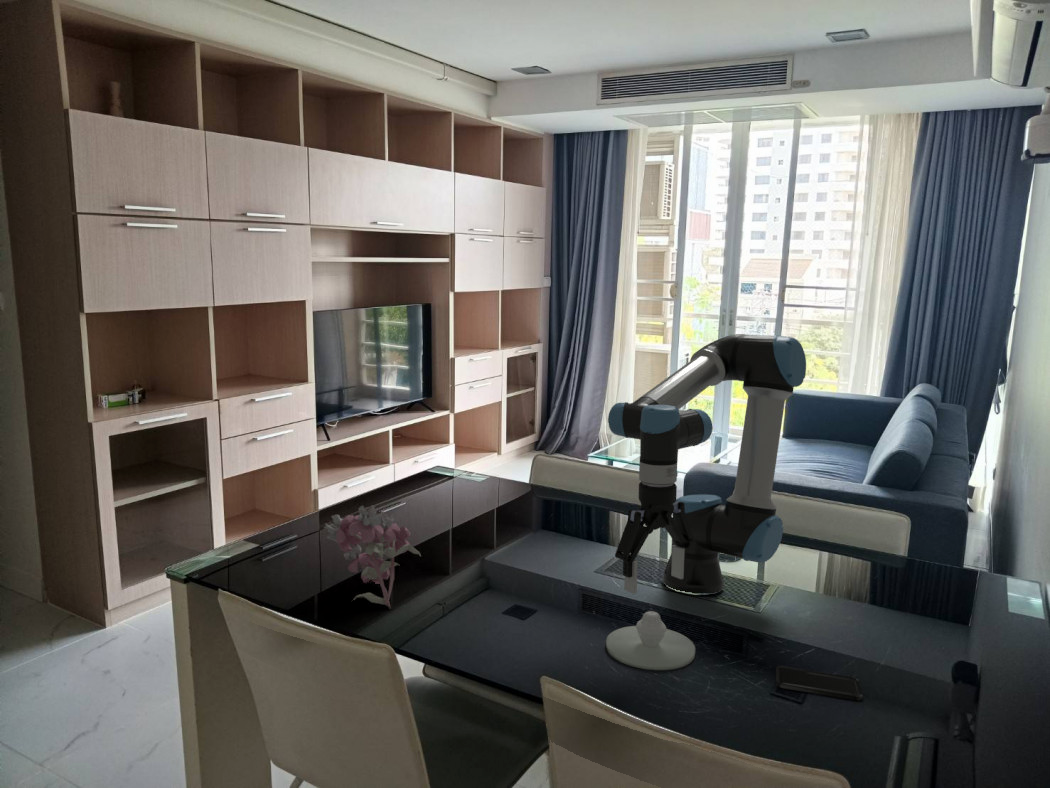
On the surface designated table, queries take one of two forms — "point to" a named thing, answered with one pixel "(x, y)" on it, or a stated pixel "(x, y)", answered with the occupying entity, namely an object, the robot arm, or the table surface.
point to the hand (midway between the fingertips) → (654, 584)
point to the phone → (818, 683)
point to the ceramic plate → (650, 650)
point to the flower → (371, 546)
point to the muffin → (651, 629)
